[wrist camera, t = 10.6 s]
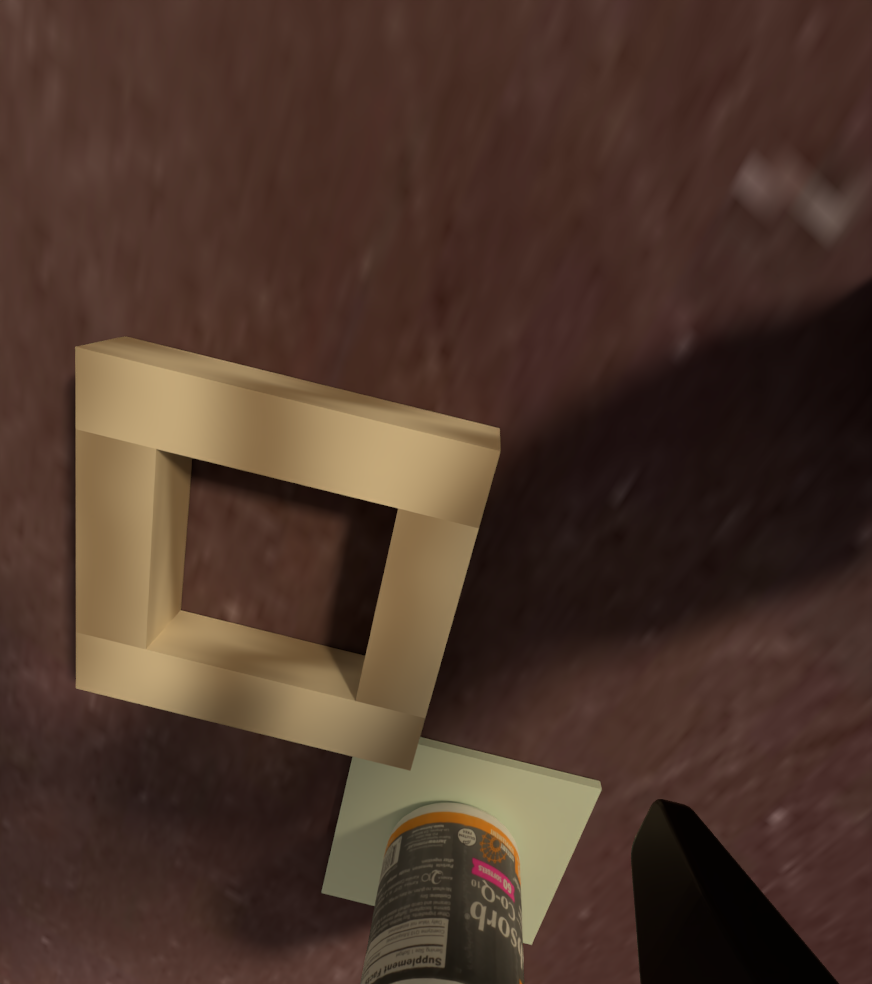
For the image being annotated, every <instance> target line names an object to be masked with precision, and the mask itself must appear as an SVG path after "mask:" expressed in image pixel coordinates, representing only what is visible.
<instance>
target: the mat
mask: <svg viewBox="0 0 872 984" xmlns="http://www.w3.org/2000/svg"><path fill="white" fill-rule="evenodd" d="M601 790H602V788H601V784H600V781H597V780H593V779H589V778H585V777H581V776H577V775H573V774H569V773H565V772H561V771H557V770H553V769H548V768H544V767H540V766H536V765H532V764H528V763H524V762H520V761H516V760H512V759H508V758H504V757H500V756H496V755H492V754H488V753H484V752H480V751H475V750H471V749H467V748H463V747H459V746H455V745H451V744H447V743H443V742H439V741H435V740H431V739H427V738H423V737H420V739H419V742H418V746H417V749H416V753H415V757H414V760H413V764H412V767H411V771H409V770H405V769H401V768H397V767H393V766H389V765H385V764H381V763H377V762H373V761H369V760H365V759H361V758H357V757H352V761H351V765H350V770H349V774H348V778H347V783H346V787H345V791H344V796H343V800H342V804H341V809H340V813H339V818H338V822H337V826H336V831H335V835H334V839H333V844H332V848H331V852H330V857H329V861H328V865H327V870H326V874H325V878H324V883H323V887H322V891H321V893H324V894H328V895H332V896H336V897H340V898H344V899H348V900H352V901H356V902H360V903H364V904H368V905H372V906H375V900H376V896H377V890H378V886H379V880H380V875H381V870H382V864H383V860H384V854H385V850H386V846H387V842H388V839H389V836H390V834H391V832H392V830H393V829H394V827H395V826H396V825H397V823H398V822H399V821H400V820H401V819H402V818H403V817H404V816H406V815H407V814H409V813H411V812H412V811H414V810H416V809H418V808H420V807H423V806H426V805H430V804H434V803H446V802H448V803H461V804H466V805H469V806H473V807H476V808H478V809H481V810H483V811H485V812H487V813H489V814H490V815H492V816H494V817H495V818H496V819H497V820H499V821H500V822H501V823H502V824H503V825H504V826H505V827H506V828H507V829H508V830H509V832H510V833H511V835H512V836H513V838H514V840H515V842H516V845H517V848H518V852H519V859H520V877H521V905H522V935H523V943H526V944H530V945H532V943H533V940H534V938H535V936H536V934H537V931H538V929H539V927H540V925H541V923H542V920H543V918H544V916H545V914H546V912H547V909H548V907H549V905H550V903H551V900H552V898H553V896H554V894H555V892H556V889H557V887H558V885H559V883H560V880H561V878H562V876H563V874H564V872H565V869H566V867H567V865H568V863H569V861H570V858H571V856H572V854H573V852H574V849H575V847H576V845H577V843H578V841H579V838H580V836H581V834H582V832H583V830H584V827H585V825H586V823H587V821H588V818H589V816H590V814H591V812H592V810H593V807H594V805H595V803H596V801H597V799H598V796H599V794H600V792H601Z"/></svg>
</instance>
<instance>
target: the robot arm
mask: <svg viewBox="0 0 872 984" xmlns="http://www.w3.org/2000/svg"><path fill="white" fill-rule="evenodd" d="M631 866H632V879H633V892H634V905H635V918H636V931H637V944H638V958H639V971H640V981H641V984H839V983H838V982H837V981H836V979H835V978H834V977H833V976H832V975H831V973H830V972H829V971H828V970H827V969H826V968H825V966H824V965H823V964H822V963H821V962H820V960H819V959H818V958H817V957H816V956H815V954H814V953H813V952H812V951H811V950H810V948H809V947H808V946H807V945H806V944H805V943H804V941H803V940H802V939H801V938H800V937H799V935H798V934H797V933H796V932H795V931H794V929H793V928H792V927H791V926H790V925H789V924H788V922H787V921H786V920H785V919H784V918H783V916H782V915H781V914H780V913H779V912H778V910H777V909H776V908H775V907H774V906H773V905H772V903H771V902H770V901H769V900H768V899H767V897H766V896H765V895H764V894H763V893H762V891H761V890H760V889H759V888H758V887H757V886H756V884H755V883H754V882H753V881H752V880H751V878H750V877H749V876H748V875H747V874H746V872H745V871H744V870H743V869H742V868H741V867H740V865H739V864H738V863H737V862H736V861H735V859H734V858H733V857H732V856H731V855H730V853H729V852H728V851H727V850H726V849H725V848H724V846H723V845H722V844H721V843H720V842H719V840H718V839H717V838H716V837H715V836H714V834H713V833H712V832H711V831H710V830H709V829H708V827H707V826H706V825H705V824H704V823H703V821H702V820H701V819H700V818H699V817H698V815H697V814H696V813H695V812H694V811H693V810H692V809H691V808H690V807H688V806H686V805H684V804H680V803H676V802H672V801H668V800H664V799H658V800H656V801H655V802H653V804H652V805H651V807H650V809H649V811H648V813H647V815H646V817H645V819H644V821H643V823H642V825H641V827H640V829H639V831H638V833H637V835H636V837H635V839H634V842H633V845H632V851H631Z"/></svg>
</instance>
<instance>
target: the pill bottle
mask: <svg viewBox="0 0 872 984" xmlns="http://www.w3.org/2000/svg"><path fill="white" fill-rule="evenodd" d="M360 984H524V966H523V935H522V905H521V877H520V859H519V852H518V848H517V845H516V842H515V840H514V838H513V836H512V835H511V833H510V832H509V830H508V829H507V828H506V827H505V826H504V825H503V824H502V823H501V822H500V821H499V820H497V819H496V818H495V817H494V816H492V815H490V814H489V813H487V812H485V811H483V810H481V809H478V808H476V807H473V806H469V805H466V804H461V803H448V802H446V803H434V804H430V805H426V806H423V807H420V808H418V809H416V810H414V811H412V812H411V813H409V814H407V815H406V816H404V817H403V818H402V819H401V820H400V821H399V822H398V823H397V825H396V826H395V827H394V829H393V830H392V832H391V834H390V836H389V839H388V842H387V846H386V850H385V854H384V860H383V864H382V870H381V875H380V880H379V886H378V890H377V896H376V900H375V907H374V913H373V919H372V925H371V930H370V936H369V941H368V947H367V952H366V957H365V962H364V968H363V973H362V978H361V983H360Z"/></svg>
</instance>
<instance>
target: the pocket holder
mask: <svg viewBox="0 0 872 984" xmlns="http://www.w3.org/2000/svg"><path fill="white" fill-rule="evenodd" d="M75 365H76V688H77V689H81V690H85V691H89V692H93V693H97V694H101V695H105V696H109V697H113V698H117V699H121V700H125V701H129V702H133V703H138V704H142V705H146V706H150V707H154V708H158V709H162V710H166V711H170V712H174V713H178V714H182V715H186V716H190V717H194V718H198V719H202V720H206V721H211V722H215V723H219V724H223V725H227V726H231V727H235V728H239V729H243V730H247V731H251V732H255V733H259V734H263V735H267V736H271V737H275V738H279V739H284V740H288V741H292V742H296V743H300V744H304V745H308V746H312V747H316V748H320V749H324V750H328V751H332V752H336V753H340V754H344V755H348V756H353V757H357V758H361V759H365V760H369V761H373V762H377V763H381V764H385V765H389V766H393V767H397V768H401V769H405V770H409V771H411V767H412V764H413V760H414V757H415V753H416V749H417V746H418V742H419V739H420V735H421V732H422V728H423V725H424V721H425V718H426V714H427V710H428V707H429V703H430V700H431V696H432V693H433V689H434V686H435V682H436V679H437V675H438V671H439V668H440V664H441V661H442V657H443V654H444V650H445V647H446V643H447V640H448V636H449V632H450V629H451V625H452V622H453V618H454V615H455V611H456V608H457V604H458V600H459V597H460V593H461V590H462V586H463V583H464V579H465V576H466V572H467V569H468V565H469V561H470V558H471V554H472V551H473V547H474V544H475V540H476V537H477V533H478V530H479V526H480V522H481V519H482V515H483V512H484V508H485V505H486V501H487V498H488V494H489V491H490V487H491V483H492V480H493V476H494V473H495V469H496V466H497V462H498V459H499V455H500V452H501V449H500V428H496V427H492V426H488V425H484V424H480V423H476V422H472V421H468V420H464V419H460V418H455V417H451V416H447V415H443V414H439V413H435V412H431V411H427V410H423V409H419V408H415V407H411V406H407V405H403V404H399V403H394V402H390V401H386V400H382V399H378V398H374V397H370V396H366V395H362V394H358V393H354V392H350V391H346V390H342V389H338V388H333V387H329V386H325V385H321V384H317V383H313V382H309V381H305V380H301V379H297V378H293V377H289V376H285V375H281V374H277V373H272V372H268V371H264V370H260V369H256V368H252V367H248V366H244V365H240V364H236V363H232V362H228V361H224V360H220V359H216V358H211V357H207V356H203V355H199V354H195V353H191V352H187V351H183V350H179V349H175V348H171V347H167V346H163V345H159V344H154V343H150V342H146V341H142V340H138V339H134V338H130V337H126V336H125V337H120V338H115V339H110V340H106V341H101V342H96V343H91V344H86V345H82V346H77V347H75ZM192 458H195V459H199V460H203V461H207V462H211V463H215V464H219V465H223V466H228V467H232V468H236V469H240V470H244V471H248V472H252V473H256V474H260V475H264V476H268V477H272V478H276V479H280V480H284V481H288V482H293V483H297V484H301V485H305V486H309V487H313V488H317V489H321V490H325V491H329V492H333V493H337V494H341V495H345V496H349V497H353V498H358V499H362V500H366V501H370V502H374V503H378V504H382V505H386V506H390V507H394V508H398V511H397V516H396V520H395V525H394V529H393V534H392V538H391V543H390V547H389V552H388V556H387V561H386V565H385V570H384V574H383V579H382V583H381V588H380V592H379V597H378V601H377V606H376V610H375V615H374V619H373V624H372V628H371V633H370V637H369V642H368V646H367V651H366V655H365V656H364V655H360V654H356V653H352V652H348V651H344V650H340V649H336V648H332V647H328V646H324V645H319V644H315V643H311V642H307V641H303V640H299V639H295V638H291V637H287V636H283V635H279V634H275V633H271V632H267V631H263V630H259V629H255V628H250V627H246V626H242V625H238V624H234V623H230V622H226V621H222V620H218V619H214V618H210V617H206V616H202V615H198V614H194V613H190V612H186V611H181V600H182V587H183V573H184V560H185V547H186V534H187V521H188V508H189V495H190V482H191V469H192Z"/></svg>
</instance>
